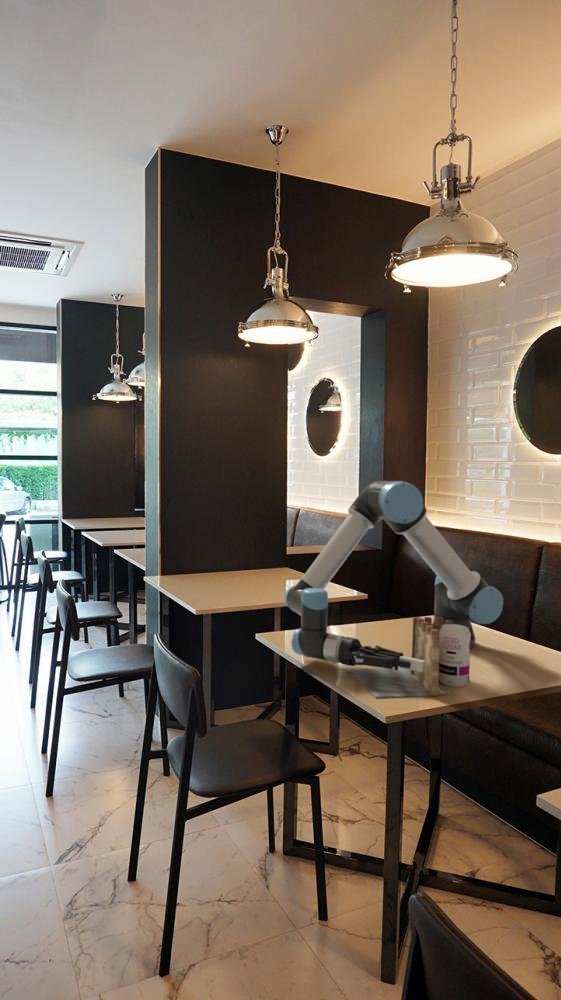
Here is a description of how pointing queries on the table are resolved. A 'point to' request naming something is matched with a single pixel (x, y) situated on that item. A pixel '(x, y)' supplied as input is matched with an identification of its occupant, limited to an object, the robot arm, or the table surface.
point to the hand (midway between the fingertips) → (423, 666)
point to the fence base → (398, 675)
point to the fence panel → (427, 655)
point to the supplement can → (454, 655)
